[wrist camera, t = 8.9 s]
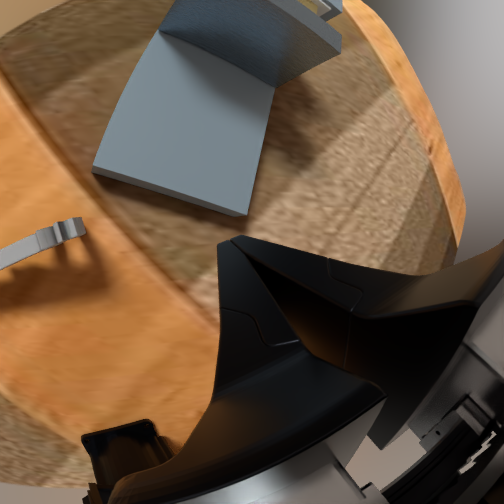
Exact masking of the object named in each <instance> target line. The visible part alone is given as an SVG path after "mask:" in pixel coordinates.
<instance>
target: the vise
mask: <svg viewBox="0 0 504 504" xmlns="http://www.w3.org/2000/svg"><path fill="white" fill-rule="evenodd" d="M310 1H312V2H313V3H314V4H316V5H317V6H318V8H317V15H318V16H319V17H320V18H321V19H323V20H324V21H325V22H326V21H328V20H330V19H331V18H333V17H335V16H337V15H339V14H340V13H342V0H310ZM274 91H275V87H274V86H272V85H270V84H269V83H267V82H265V81H263V80H262V79H260V78H258V77H257V76H255V75H253V74H251V73H249V72H248V71H246V70H244V69H242V68H240V67H238V66H237V65H235V64H233V63H231V62H229V61H227V60H225V59H223V58H221V57H219V56H217V55H215V54H213V53H211V52H209V51H207V50H205V49H202V48H200V47H198V46H196V45H194V44H191V43H189V42H187V41H185V40H182V39H180V38H177V37H175V36H173V35H170V34H168V33H165V32H163V31H160V30H157V32H156V33H155V35H154V36H153V38H152V40H151V41H150V43H149V45H148V46H147V48H146V50H145V51H144V53H143V55H142V57H141V58H140V60H139V62H138V64H137V66H136V68H135V69H134V71H133V73H132V75H131V77H130V79H129V81H128V83H127V85H126V87H125V89H124V91H123V93H122V95H121V97H120V99H119V101H118V104H117V106H116V108H115V110H114V112H113V115H112V117H111V119H110V122H109V124H108V126H107V129H106V131H105V134H104V136H103V139H102V141H101V144H100V147H99V149H98V152H97V155H96V158H95V160H94V163H93V167H92V173H96V174H99V175H102V176H106V177H109V178H112V179H116V180H119V181H122V182H126V183H129V184H132V185H136V186H139V187H142V188H145V189H149V190H152V191H155V192H158V193H162V194H165V195H168V196H171V197H174V198H177V199H180V200H184V201H187V202H190V203H193V204H196V205H199V206H202V207H205V208H208V209H211V210H214V211H217V212H221V213H224V214H227V215H230V216H233V217H237V216H244V215H247V212H248V208H249V203H250V198H251V194H252V189H253V185H254V180H255V176H256V171H257V166H258V162H259V157H260V153H261V148H262V144H263V140H264V135H265V131H266V126H267V122H268V117H269V113H270V109H271V104H272V100H273V96H274Z"/></svg>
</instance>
